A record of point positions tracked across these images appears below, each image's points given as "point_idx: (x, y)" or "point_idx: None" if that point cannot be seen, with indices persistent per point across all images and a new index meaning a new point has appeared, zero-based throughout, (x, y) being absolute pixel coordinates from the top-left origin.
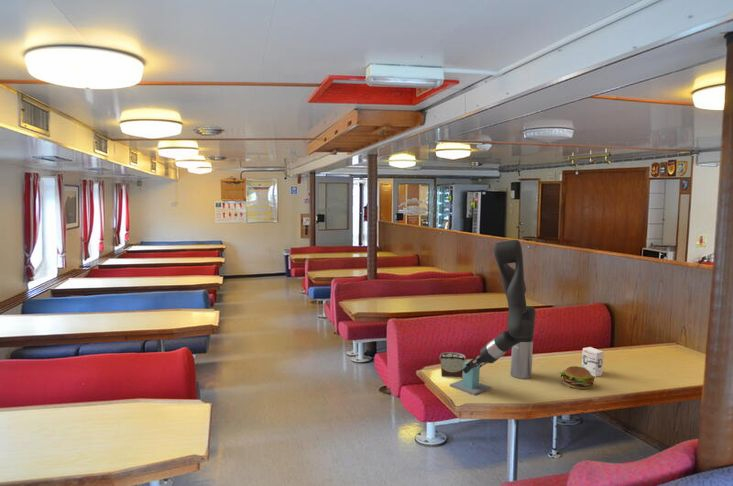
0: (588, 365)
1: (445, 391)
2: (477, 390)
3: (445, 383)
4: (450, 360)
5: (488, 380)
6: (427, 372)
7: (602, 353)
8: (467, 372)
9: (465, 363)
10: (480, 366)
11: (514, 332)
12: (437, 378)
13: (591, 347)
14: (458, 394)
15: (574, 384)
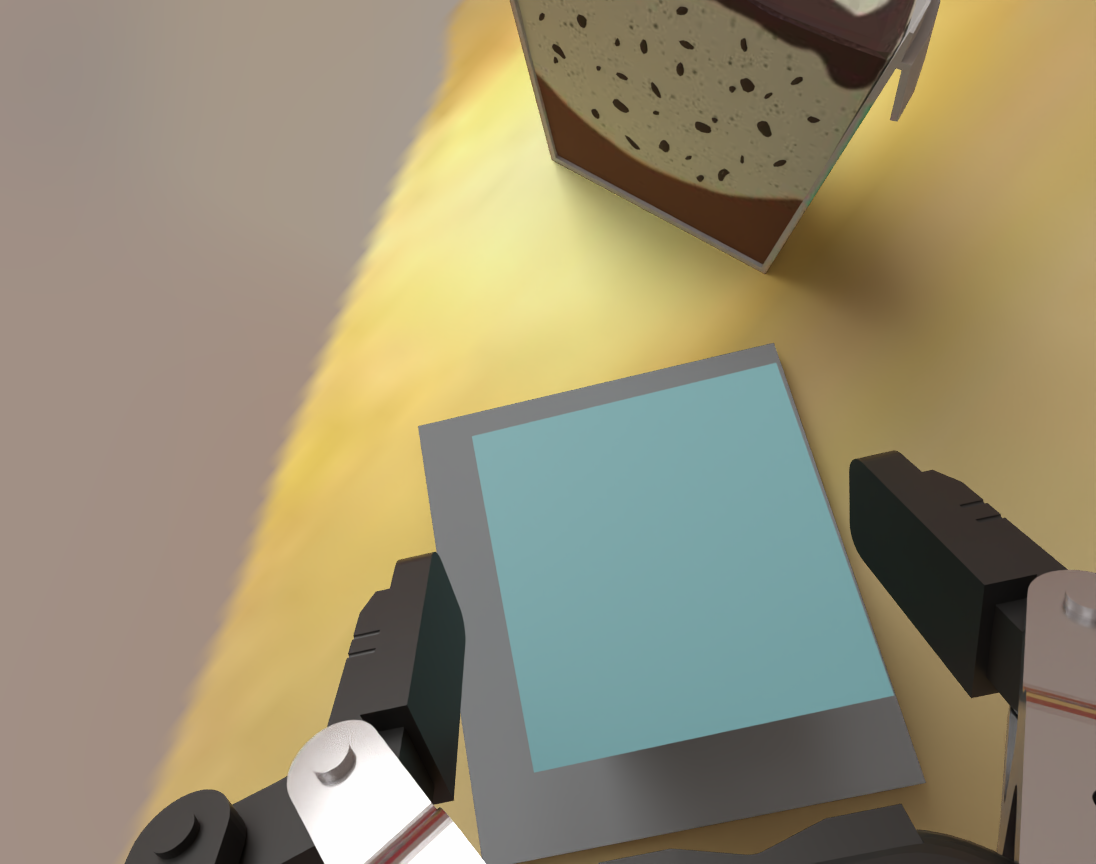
0: None
1: (260, 548)
2: (610, 797)
3: (441, 344)
4: (635, 9)
5: (1085, 496)
6: (489, 23)
7: None
8: (460, 662)
9: (489, 490)
10: (925, 628)
11: None
12: (466, 190)
13: None
14: (324, 712)
15: None
